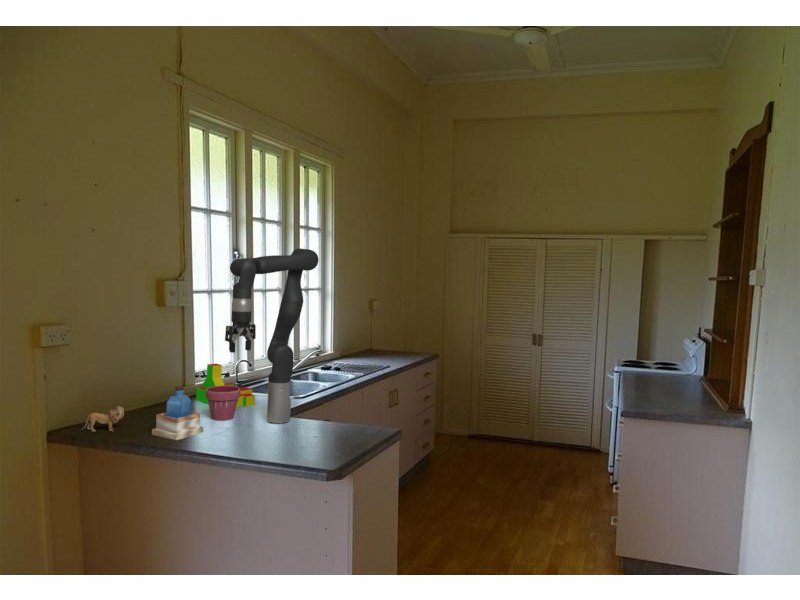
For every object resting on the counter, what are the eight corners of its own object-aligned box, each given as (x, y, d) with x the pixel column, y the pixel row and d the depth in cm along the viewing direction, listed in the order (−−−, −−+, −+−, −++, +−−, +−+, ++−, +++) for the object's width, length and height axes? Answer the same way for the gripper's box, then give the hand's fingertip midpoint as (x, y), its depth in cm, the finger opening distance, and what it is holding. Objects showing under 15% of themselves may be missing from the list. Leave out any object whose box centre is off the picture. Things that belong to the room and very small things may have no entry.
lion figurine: (124, 427, 214) (125, 404, 214) (122, 431, 209) (123, 408, 209) (82, 429, 209) (82, 406, 209) (79, 433, 204) (79, 409, 204)
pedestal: (179, 426, 218) (180, 408, 218) (203, 432, 212) (203, 413, 212) (151, 434, 207) (152, 414, 206) (176, 440, 201) (176, 420, 200)
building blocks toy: (223, 410, 247) (224, 370, 246) (196, 400, 264) (197, 363, 263) (258, 405, 261) (260, 367, 260) (231, 395, 278) (232, 360, 277)
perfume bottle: (180, 420, 206) (181, 389, 205) (166, 418, 207) (167, 387, 206) (190, 416, 212) (191, 386, 211) (176, 415, 213) (177, 384, 212)
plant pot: (197, 419, 230) (198, 389, 230) (220, 412, 243) (221, 383, 243) (224, 424, 225) (225, 393, 224) (246, 416, 238) (247, 387, 237)
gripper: (235, 311, 204) (234, 354, 205) (261, 310, 217) (260, 350, 218) (220, 309, 208) (219, 352, 208) (247, 308, 220) (245, 348, 221)
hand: (240, 351), depth 213 cm, fingers open, 8 cm apart
